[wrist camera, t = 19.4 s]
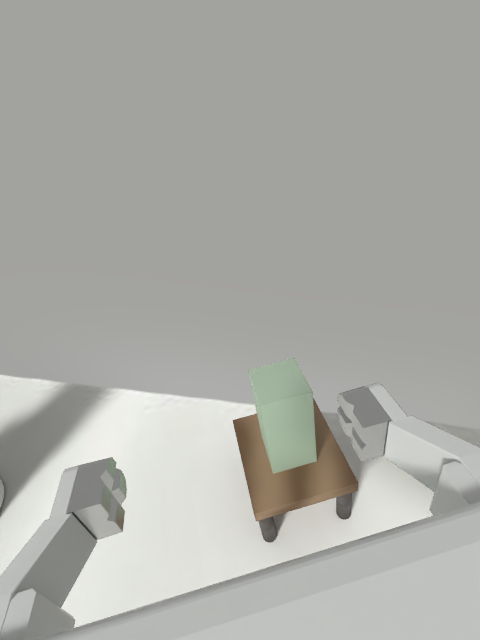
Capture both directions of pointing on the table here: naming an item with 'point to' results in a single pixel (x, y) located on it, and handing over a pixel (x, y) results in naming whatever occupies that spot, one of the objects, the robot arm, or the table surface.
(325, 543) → the table surface
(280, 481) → the peg shelf
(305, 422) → the green block
